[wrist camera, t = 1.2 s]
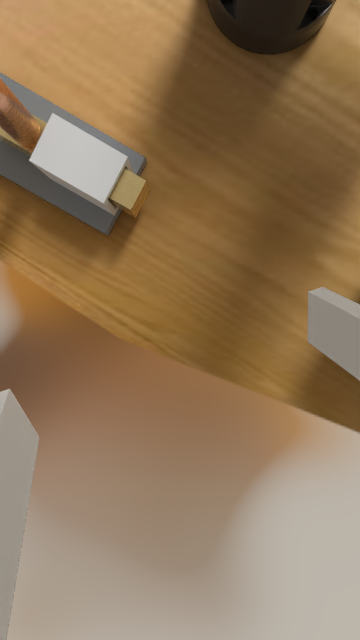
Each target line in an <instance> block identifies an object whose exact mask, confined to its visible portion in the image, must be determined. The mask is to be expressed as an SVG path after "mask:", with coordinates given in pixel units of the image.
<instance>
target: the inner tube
mask: <svg viewBox="0 0 360 640" xmlns="http://www.w3.org/2000/svg"><path fill="white" fill-rule="evenodd" d="M46 125H47V123H46V122H44V121H43V120H41V119H39V118H38V117H36V116H34V115H32V114H31V113H30V112H29V111H28V110H27V109H26V108H25V106H24V105H23V104H22V103H21V102H20V100H19V99H18V98H17V97H16V96H15V95H14V93H13V92H12V91H11V90H10V89H9V88H8V86H7V85H6V84H5V83H4V82H3V80H2V79H1V78H0V140H1V141H3V142H4V143H6V144H8V145H10V146H11V147H13V148H15V149H17V150H18V151H20V152H22V153H24V154H25V155H27V156H29V157H31V155H32V153H33V151H34V149H35V147H36V145H37V143H38V141H39V139H40V137H41V135H42V133H43V131H44V129H45V127H46ZM149 192H150V191H149V188H148V184H147V181H146V180H144V179H143V178H141V177H139V176H137V175H136V174H134V173H132V172H131V171H129V170H127V169H125V168H124V169H123V171H122V173H121V175H120V177H119V179H118V181H117V183H116V185H115V187H114V188H113V190H112V192H111V194H110V196H109V198H108V201H109V202H110V203H111V204H112V205H114V206H116V207H118V208H119V209H121V210H123V211H125V212H126V213H128V214H130V215H132V216H133V217H135V218H136V216H137V214H138V212H139V210H140V208H141V207H142V205H143V203H144V201H145V199H146V197H147V195H148V193H149Z"/></svg>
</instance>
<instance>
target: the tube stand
mask: <svg viewBox="0 0 360 640" xmlns="http://www.w3.org/2000/svg"><path fill="white" fill-rule="evenodd" d="M0 78H1V79H2V80H3V82H4V83H5V84H6V85H7V86H8V88H9V89H10V90H11V91H12V92H13V93H14V95H15V96H16V97H17V98H18V99H19V100H20V102H21V103H22V104H23V105H24V106H25V108H26V109H27V110H28V111H29V112H30V113H31V114H32V115H34V116H36V117H38V118H39V119H41V120H43V121H44V122H46V123H47V125H46V127H45V129H44V131H43V133H42V135H41V137H40V139H39V141H38V143H37V145H36V147H35V149H34V151H33V153H32V155H31V157H29V156H27V155H25V154H24V153H22V152H20V151H18V150H17V149H15V148H13V147H11V146H10V145H8V144H6V143H4V142H3V141H1V140H0V175H2V176H3V177H5V178H7V179H9V180H10V181H12V182H14V183H16V184H18V185H19V186H21V187H23V188H25V189H26V190H28V191H30V192H32V193H33V194H35V195H37V196H39V197H40V198H42V199H44V200H46V201H47V202H49V203H51V204H53V205H54V206H56V207H58V208H60V209H62V210H63V211H65V212H67V213H69V214H70V215H72V216H74V217H76V218H77V219H79V220H81V221H83V222H84V223H86V224H88V225H90V226H91V227H93V228H95V229H97V230H98V231H100V232H102V233H104V234H106V235H107V236H108V235H109V233H110V231H111V229H112V228H113V226H114V224H115V222H116V220H117V218H118V216H119V214H120V212H121V211H122V210H121V209H119V208H118V207H116V206H114V205H112V204H111V203H110V202H109V201H108V198H109V196H110V194H111V192H112V190H113V188H114V187H115V185H116V183H117V181H118V179H119V177H120V175H121V173H122V171H123V169H124V168H125V169H127V170H129V171H131V172H132V173H134V174H136V175H137V176H139V177H140V175H141V173H142V171H143V169H144V167H145V165H146V163H147V162H146V158H145V157H144V156H142V155H140V154H139V153H137V152H135V151H134V150H132V149H130V148H128V147H127V146H125V145H123V144H122V143H120V142H118V141H116V140H115V139H113V138H111V137H110V136H108V135H106V134H104V133H103V132H101V131H99V130H98V129H96V128H94V127H93V126H91V125H89V124H87V123H86V122H84V121H82V120H81V119H79V118H77V117H75V116H74V115H72V114H70V113H69V112H67V111H65V110H63V109H62V108H60V107H58V106H57V105H55V104H53V103H51V102H50V101H48V100H46V99H45V98H43V97H41V96H39V95H38V94H36V93H34V92H33V91H31V90H29V89H27V88H26V87H24V86H22V85H21V84H19V83H17V82H15V81H14V80H12V79H10V78H9V77H7V76H5V75H4V74H2V73H0Z"/></svg>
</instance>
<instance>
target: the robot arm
mask: <svg viewBox="0 0 360 640" xmlns="http://www.w3.org/2000/svg"><path fill="white" fill-rule="evenodd" d="M335 2H336V0H207V3H208V6H209V9H210V12H211V14H212V17H213V19H214V20H215V22H216V24H217V25H218V27H219V28H220V29H221V31H222V32H223V33H224V34H225V35H226V36H227V37H228V38H229V39H230V40H231V41H233V42H234V43H236V44H237V45H239V46H240V47H242V48H244V49H247V50H250V51H253V52H257V53H263V54H274V53H281V52H285V51H289V50H291V49H294V48H296V47H298V46H300V45H301V44H303V43H305V42H306V41H307V40H309V39H310V38H311V37H312V36H313V35H314V34H315V33H316V32H317V31H318V30H319V29H320V28H321V26H322V25H323V23H324V22H325V20H326V19H327V17H328V15H329V13H330V11H331V9H332V7H333V6H334V4H335ZM308 342H309V343H310V344H311V345H313V346H314V347H315V348H317V349H318V350H319V351H321V352H322V353H323V354H325V355H326V356H327V357H329V358H330V359H331V360H333V361H334V362H335V363H337V364H338V365H339V366H341V367H342V368H343V369H345V370H346V371H347V372H349V373H350V374H351V375H353V376H354V377H355V378H357V379H358V380H359V381H360V304H358V303H356V302H354V301H352V300H350V299H347V298H345V297H343V296H341V295H339V294H337V293H335V292H333V291H331V290H328V289H326V288H324V287H321V288H318V289H315V290H312V291H308ZM38 442H39V436H38V434H37V433H36V431H35V429H34V428H33V426H32V424H31V423H30V421H29V419H28V418H27V416H26V415H25V413H24V411H23V410H22V408H21V406H20V405H19V403H18V401H17V400H16V398H15V397H14V395H13V393H12V392H11V390H10V389H8V390H5V391H2V392H0V640H6V638H7V632H8V626H9V620H10V614H11V608H12V602H13V596H14V590H15V583H16V577H17V571H18V565H19V559H20V553H21V547H22V541H23V534H24V528H25V522H26V516H27V510H28V504H29V498H30V491H31V485H32V479H33V473H34V467H35V460H36V454H37V448H38Z"/></svg>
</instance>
